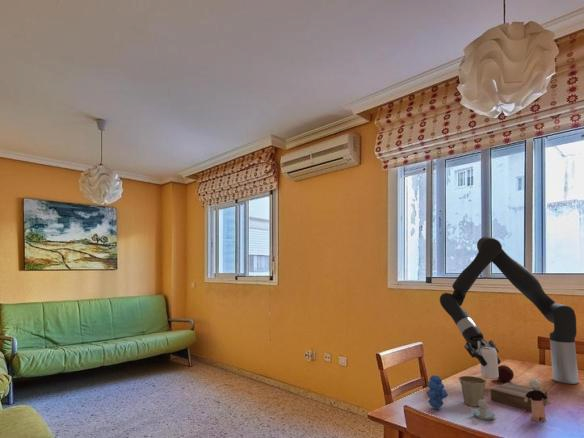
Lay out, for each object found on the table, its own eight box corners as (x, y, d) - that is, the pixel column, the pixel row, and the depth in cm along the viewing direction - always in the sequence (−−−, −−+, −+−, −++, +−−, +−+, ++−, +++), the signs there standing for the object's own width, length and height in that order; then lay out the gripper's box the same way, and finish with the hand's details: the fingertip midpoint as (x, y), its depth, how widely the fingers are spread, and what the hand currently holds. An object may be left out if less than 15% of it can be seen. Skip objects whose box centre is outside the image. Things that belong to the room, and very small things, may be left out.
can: (500, 379, 155) (498, 349, 157) (483, 378, 157) (481, 348, 158) (495, 375, 162) (493, 345, 163) (479, 374, 163) (477, 345, 164)
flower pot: (486, 401, 144) (484, 377, 145) (489, 410, 135) (488, 384, 136) (458, 398, 147) (457, 374, 148) (460, 406, 138) (459, 381, 139)
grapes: (443, 417, 128) (441, 380, 129) (423, 412, 132) (422, 376, 134) (454, 408, 137) (452, 373, 138) (435, 403, 141) (434, 369, 142)
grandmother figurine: (544, 416, 129) (541, 377, 130) (552, 421, 125) (549, 381, 126) (522, 417, 129) (519, 377, 130) (529, 421, 125) (527, 381, 126)
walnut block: (508, 392, 153) (507, 382, 153) (547, 402, 142) (546, 391, 142) (491, 400, 145) (490, 389, 145) (531, 411, 134) (530, 399, 134)
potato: (514, 380, 170) (513, 364, 171) (513, 385, 163) (512, 368, 164) (496, 377, 174) (495, 361, 175) (494, 382, 167) (493, 365, 168)
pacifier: (475, 413, 133) (469, 417, 128) (474, 394, 134) (469, 397, 129) (498, 419, 128) (493, 423, 123) (497, 399, 129) (492, 403, 124)
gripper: (460, 326, 167) (482, 360, 154) (486, 324, 171) (510, 357, 158) (452, 336, 171) (473, 371, 158) (478, 334, 175) (501, 367, 163)
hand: (492, 364), depth 158 cm, fingers closed on can, 6 cm apart
